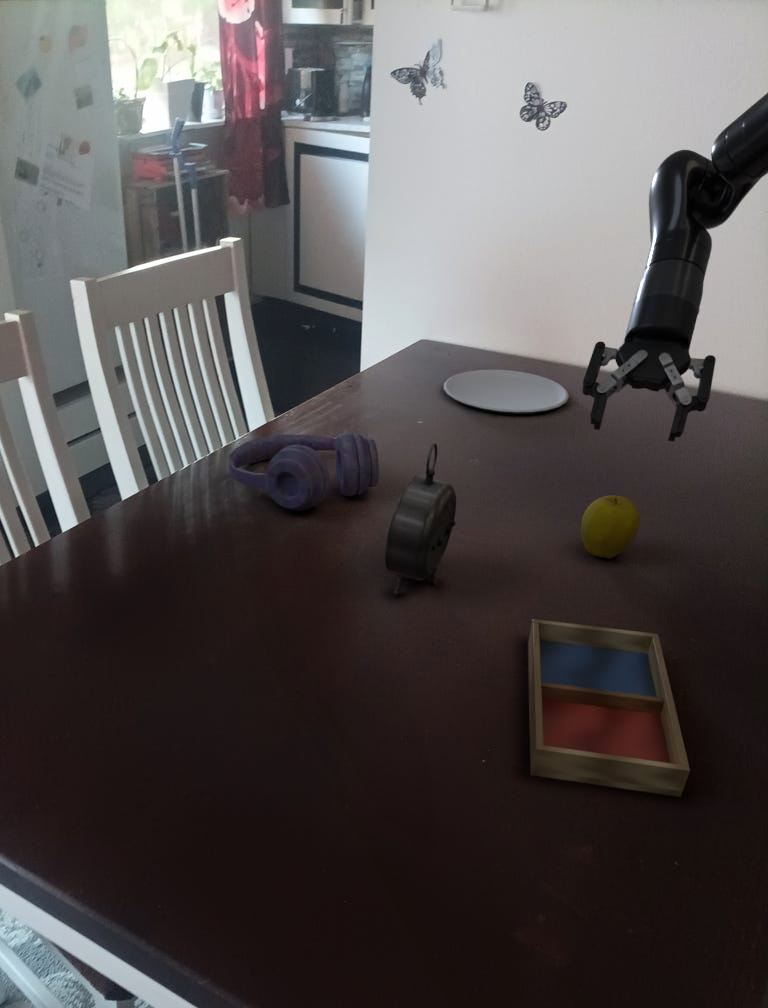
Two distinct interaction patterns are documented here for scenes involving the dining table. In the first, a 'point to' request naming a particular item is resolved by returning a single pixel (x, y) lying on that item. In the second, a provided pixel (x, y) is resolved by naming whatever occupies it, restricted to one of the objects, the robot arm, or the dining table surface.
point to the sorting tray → (603, 709)
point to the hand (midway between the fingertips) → (634, 432)
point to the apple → (609, 526)
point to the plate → (506, 391)
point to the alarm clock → (420, 527)
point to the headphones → (306, 467)
